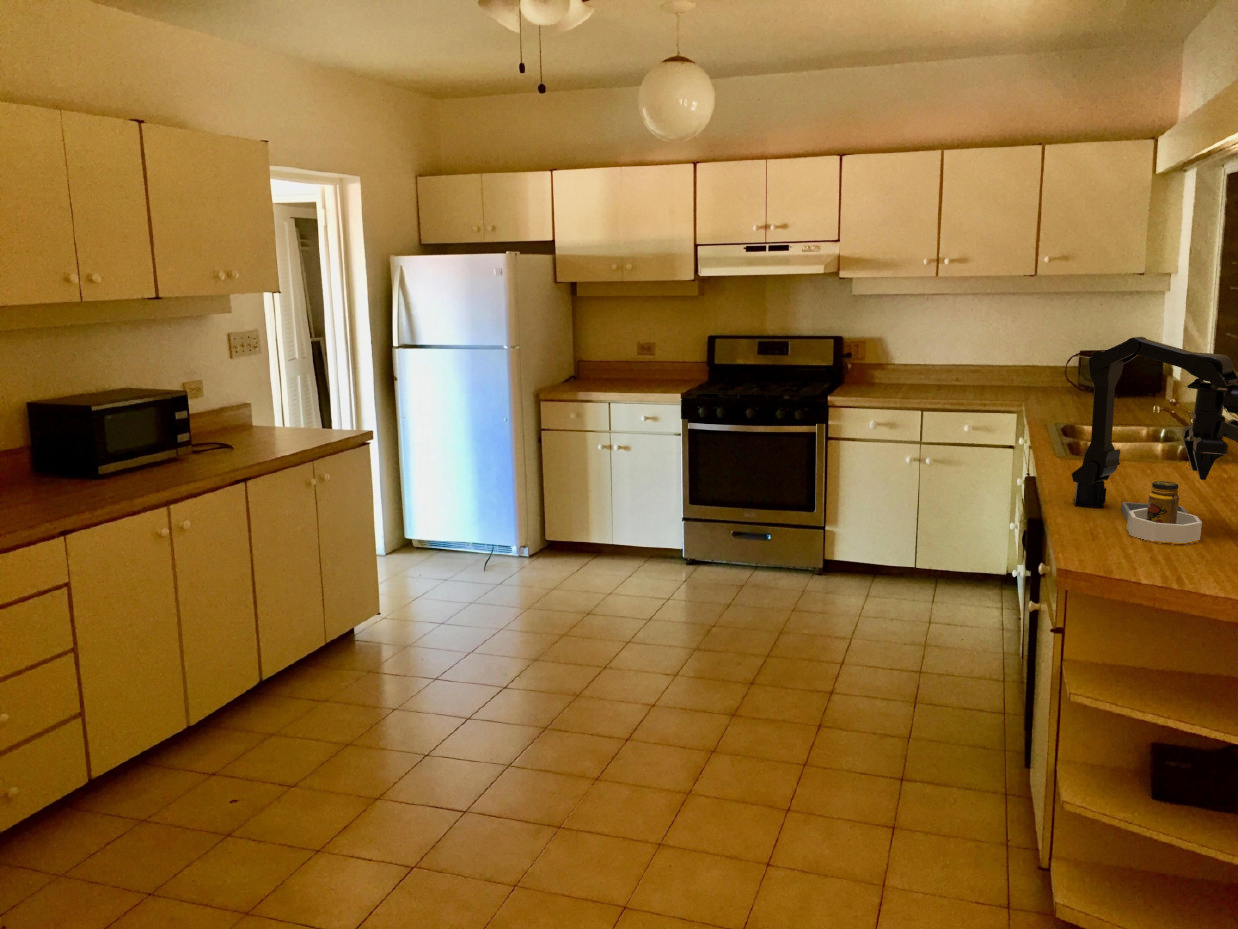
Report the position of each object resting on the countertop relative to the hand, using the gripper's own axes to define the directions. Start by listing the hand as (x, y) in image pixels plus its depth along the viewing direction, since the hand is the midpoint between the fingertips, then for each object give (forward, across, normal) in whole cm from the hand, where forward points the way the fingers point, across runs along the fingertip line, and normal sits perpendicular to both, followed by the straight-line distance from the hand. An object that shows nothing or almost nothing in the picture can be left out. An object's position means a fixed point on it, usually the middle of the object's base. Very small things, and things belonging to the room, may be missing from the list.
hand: (1198, 475), depth 229 cm
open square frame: (+13, +4, +7) cm, 15 cm away
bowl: (+12, -10, +8) cm, 18 cm away
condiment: (+12, -10, +8) cm, 18 cm away
